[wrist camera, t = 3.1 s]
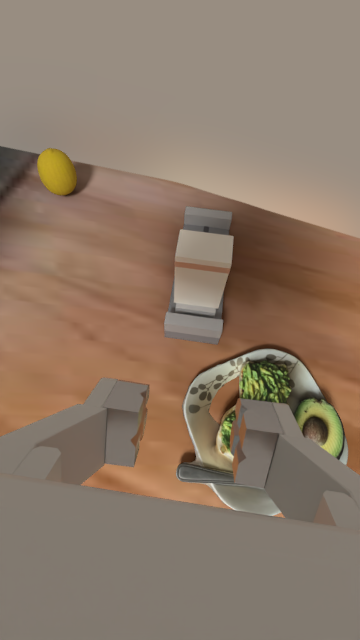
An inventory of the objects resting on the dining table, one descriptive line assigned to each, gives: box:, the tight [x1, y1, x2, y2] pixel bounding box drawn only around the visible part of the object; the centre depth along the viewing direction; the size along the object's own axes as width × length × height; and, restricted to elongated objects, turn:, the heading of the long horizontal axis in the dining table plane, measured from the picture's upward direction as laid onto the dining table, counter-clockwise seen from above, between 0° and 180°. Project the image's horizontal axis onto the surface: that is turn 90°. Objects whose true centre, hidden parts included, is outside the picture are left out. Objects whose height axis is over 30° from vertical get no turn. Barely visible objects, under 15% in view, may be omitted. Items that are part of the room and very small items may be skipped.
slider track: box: [164, 206, 232, 344], centre depth 42 cm, size 20×7×4 cm, turn 172°
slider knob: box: [174, 229, 234, 318], centre depth 35 cm, size 5×6×10 cm
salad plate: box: [176, 348, 348, 516], centre depth 32 cm, size 19×18×5 cm
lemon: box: [37, 148, 77, 195], centre depth 47 cm, size 6×6×8 cm
